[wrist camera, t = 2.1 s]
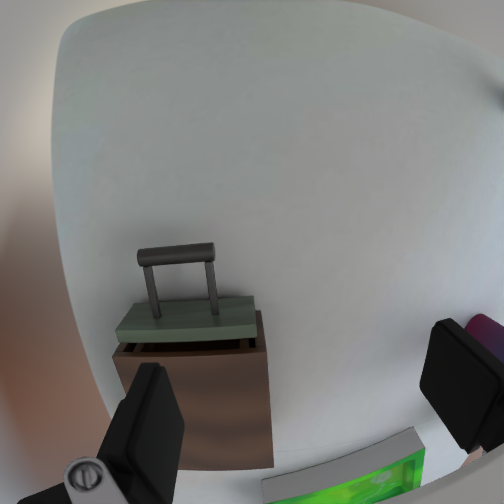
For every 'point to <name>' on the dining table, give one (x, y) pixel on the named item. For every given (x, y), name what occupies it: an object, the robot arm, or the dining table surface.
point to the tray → (354, 475)
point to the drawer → (187, 310)
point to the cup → (488, 334)
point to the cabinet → (216, 402)
